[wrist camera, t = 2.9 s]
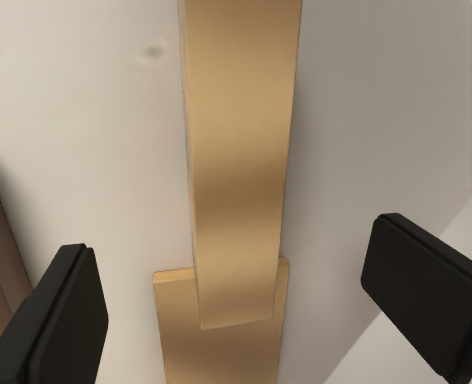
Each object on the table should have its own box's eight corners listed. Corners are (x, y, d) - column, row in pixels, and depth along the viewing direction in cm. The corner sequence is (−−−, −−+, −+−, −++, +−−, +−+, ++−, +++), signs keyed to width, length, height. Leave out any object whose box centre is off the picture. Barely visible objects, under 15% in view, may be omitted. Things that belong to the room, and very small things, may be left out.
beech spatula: (115, -17, 10) (83, -62, 6) (312, -5, 11) (381, -35, 7) (169, 394, 19) (169, 473, 15) (272, 373, 20) (294, 441, 16)
